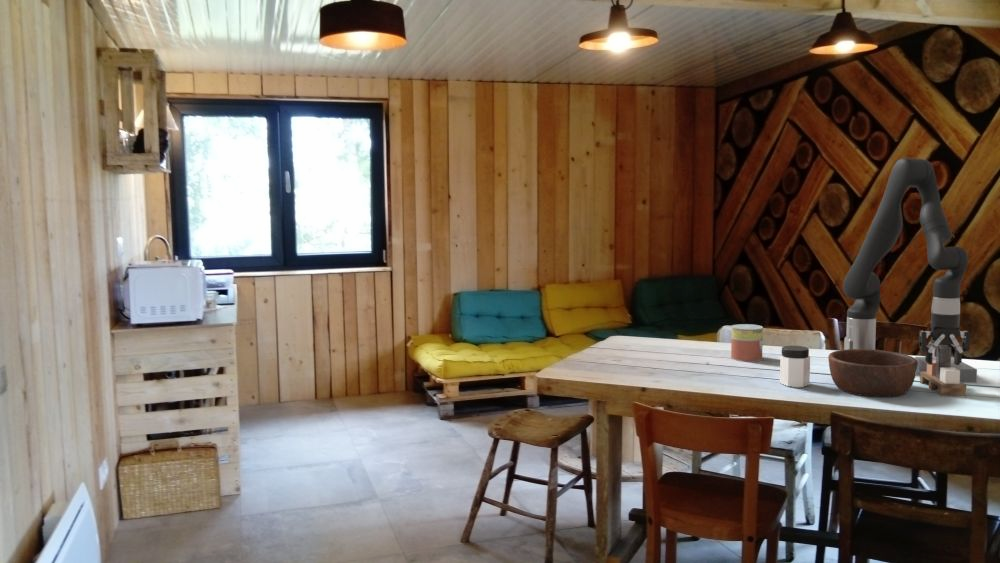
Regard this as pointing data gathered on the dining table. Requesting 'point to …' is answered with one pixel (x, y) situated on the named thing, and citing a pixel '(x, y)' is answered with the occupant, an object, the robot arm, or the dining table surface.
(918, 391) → the dining table surface
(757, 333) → the canned food
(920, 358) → the dock
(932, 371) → the cargo terracotta
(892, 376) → the wooden bowl
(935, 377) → the pallet
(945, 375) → the block
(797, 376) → the jar
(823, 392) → the dining table surface
